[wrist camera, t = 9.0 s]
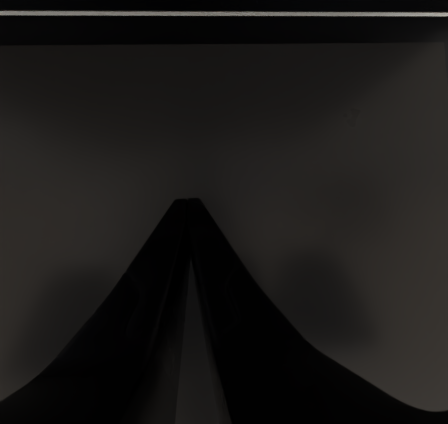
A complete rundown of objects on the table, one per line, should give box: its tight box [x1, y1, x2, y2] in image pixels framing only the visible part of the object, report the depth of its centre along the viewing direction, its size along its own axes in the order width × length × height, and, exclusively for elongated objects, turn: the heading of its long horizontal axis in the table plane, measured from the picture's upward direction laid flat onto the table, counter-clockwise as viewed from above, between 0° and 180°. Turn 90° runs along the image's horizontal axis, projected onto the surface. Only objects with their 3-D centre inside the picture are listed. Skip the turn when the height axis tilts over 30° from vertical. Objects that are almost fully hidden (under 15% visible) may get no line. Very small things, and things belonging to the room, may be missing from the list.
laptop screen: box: [0, 15, 448, 424], centre depth 10 cm, size 17×24×1 cm
